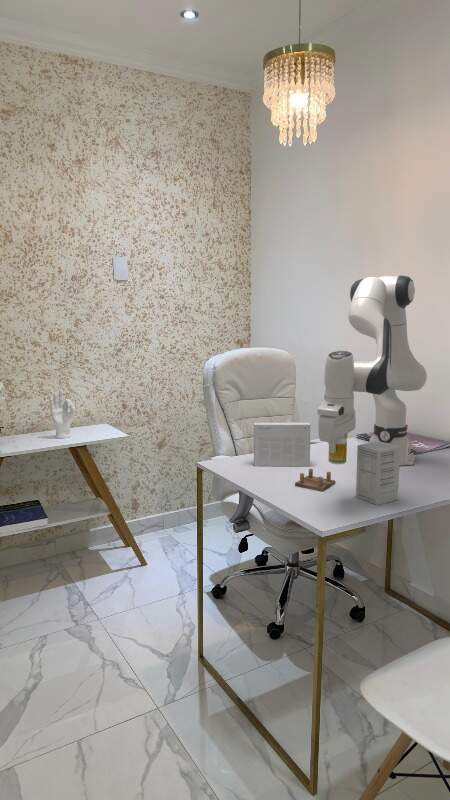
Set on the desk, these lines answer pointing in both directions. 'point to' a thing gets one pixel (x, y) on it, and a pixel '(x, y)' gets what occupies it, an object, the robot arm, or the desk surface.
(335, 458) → the supplement bottle
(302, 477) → the pin stand
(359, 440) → the desk surface
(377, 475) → the supplement box
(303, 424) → the skincare box
